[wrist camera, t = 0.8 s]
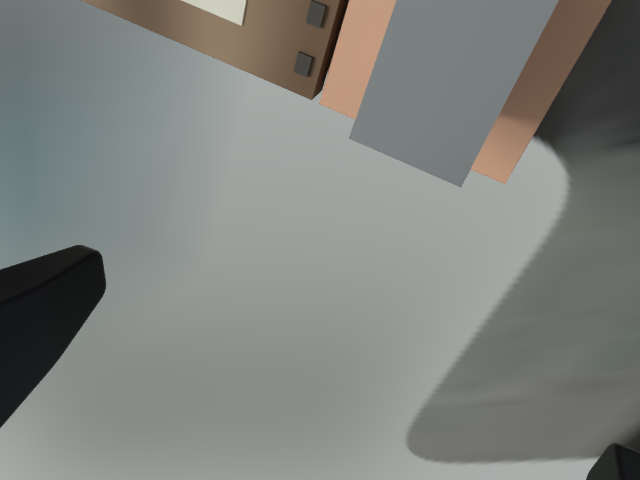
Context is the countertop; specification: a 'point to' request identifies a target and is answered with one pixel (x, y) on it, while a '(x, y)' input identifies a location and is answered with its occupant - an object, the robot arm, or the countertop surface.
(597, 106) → the countertop surface
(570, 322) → the countertop surface
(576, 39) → the stub
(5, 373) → the robot arm
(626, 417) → the countertop surface
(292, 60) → the board
